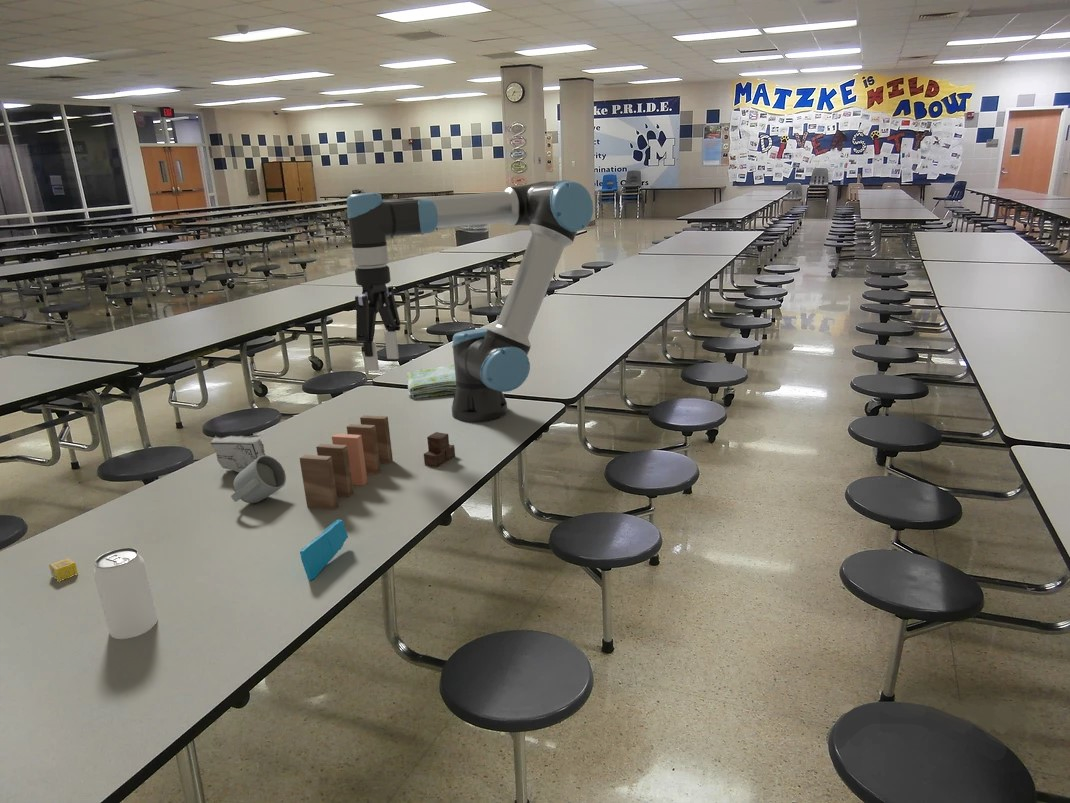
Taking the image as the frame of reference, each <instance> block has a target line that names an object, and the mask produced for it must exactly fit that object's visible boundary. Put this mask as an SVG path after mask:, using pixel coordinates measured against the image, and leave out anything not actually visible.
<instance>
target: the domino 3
mask: <svg viewBox="0 0 1070 803" xmlns="http://www.w3.org/2000/svg"><path fill="white" fill-rule="evenodd" d="M331 442H332V444H335V445H347V449H348V456H349V463H350V471H351V478H352V485H353V486H354V485H355V486H365V485H366V484H367V483H368V476H367V474H368V473H366V467H365V459H364V451H363V444H362V436H361V435H353V434H347V433H335V434H333V435H332V436H331Z"/></svg>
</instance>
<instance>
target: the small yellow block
mask: <svg viewBox="0 0 1070 803" xmlns="http://www.w3.org/2000/svg"><path fill="white" fill-rule="evenodd" d="M48 566H49V570H50V571H49V572H50V574H51V577H52V576H53V577H54V578H55V579H57V580H58V581H60V580H62V579H65V578H68V577H70V576H72V575H75V574H78V575H79V573H78V569H77V568H78V567H77V564H76V562H74V561H73V560H71V558H69V557H66V558H63V559H60V560H58V561H57V560H56V561H55V562H51V563H49V565H48ZM54 578H53V579H54ZM55 579H54V580H55ZM58 581H57V582H58Z"/></svg>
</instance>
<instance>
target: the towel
mask: <svg viewBox="0 0 1070 803" xmlns="http://www.w3.org/2000/svg"><path fill="white" fill-rule="evenodd" d="M406 377H407V390H408V393H407V394H408V397H409V399H421V398H422V397H423V398H428V397H429V396H430V397H439V395H440V396H444V395H445V396H446V395H455V392H456V376H455V365H454V364H450V365H445V366H439V367H430V368H423V369H417V370H412V371H408V372H406ZM423 398H422V399H423Z"/></svg>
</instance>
